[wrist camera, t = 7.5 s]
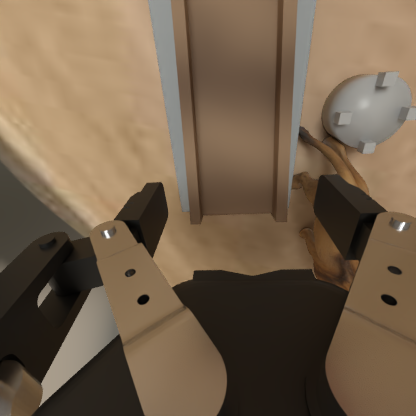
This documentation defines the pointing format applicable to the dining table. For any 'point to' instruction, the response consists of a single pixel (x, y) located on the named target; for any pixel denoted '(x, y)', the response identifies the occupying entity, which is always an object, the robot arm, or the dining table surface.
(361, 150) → the grey dome cap
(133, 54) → the dining table surface
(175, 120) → the deck
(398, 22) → the dining table surface
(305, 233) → the lion figurine
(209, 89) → the ramp
